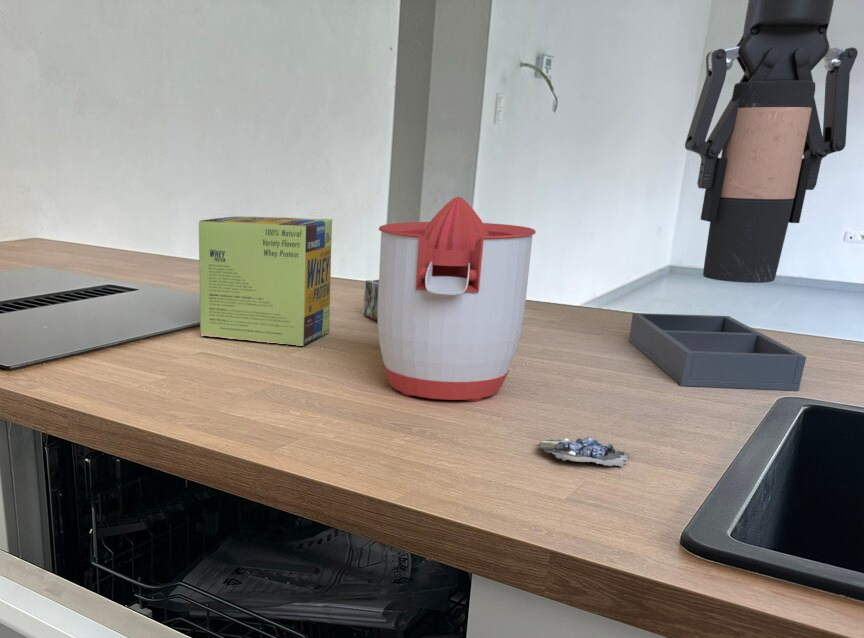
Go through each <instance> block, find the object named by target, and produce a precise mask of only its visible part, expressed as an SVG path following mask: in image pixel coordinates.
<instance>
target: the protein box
mask: <svg viewBox="0 0 864 638" xmlns="http://www.w3.org/2000/svg"><path fill="white" fill-rule="evenodd" d="M332 235H333V219H332V218H303V217H301V218H300V217H283V216H282V217H278V216H277V217H276V216H275V217H274V216H273V217H272V216H241V215H240V216H239V215H238V216H235V215H234V216H225V217H216V218H209V219H201V220H199V221H198V261H199V262H198V263H199V269H198V270H199V271H198V272H199V334H200V333H203V334H210V335H218V336H225V337H234V338H242V339H252V340H261V341H269V342H276V343H284V344H294V345H300V346H303V347H305V346H307V345H308V344H310V343H312V342H314V341H316V340H317V338H318V339H319V338H321V337H323V336H325V335H327V334H329V333H330V318H331V316H330V314H331V307H330V306H331V277H332V276H331V274H332V273H331V271H332V270H331V269H332V237H333V236H332ZM328 332H329V333H328ZM326 333H327V334H326ZM324 334H325V335H324ZM315 339H316V340H315ZM313 340H314V341H313ZM311 341H312V342H311ZM309 342H310V343H309ZM307 343H308V344H307ZM306 344H307V345H306ZM304 345H305V346H304Z"/></svg>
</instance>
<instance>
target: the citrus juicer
mask: <svg viewBox="0 0 864 638" xmlns="http://www.w3.org/2000/svg"><path fill="white" fill-rule="evenodd" d="M378 231H379V232H380V248H379V249H380V252H379V270H378V271H379V272H378V280H379V290H378V321H377V333H378V334H377V335H378V340H379V348H380V353H381V356H382V360H383V368H384V371H385V374H386V377H387V379H388V383H389V385H390V386H391V387H392V388H393V389H395V390H397V391H399V392H401V394H402V395H403V394H404V396H406V397H411V396H417V397H418V398H419V397H421V398H424V399H425V398H426V399H433V400H446V401H448V400H449V401H463V400H464V401H467V402H478V401H481V400H483V398H487V397H490V396H493V395H496V394H497V393H498V392H499V391H500V389H501V387H502V386H503V384H504V383H505V380H506V378H507V376H508V374H509V372H510V367H511V364H512V362H513V359H514V357H515V354H516V352H517V349H518V345H519V341H520V338H521V335H522V331H523V324H524V319H525V310H526V303H527V302H526V301H527V292H528V291H527V290H528V283H529V272H530V265H531V263H530V261H531V255H532V245H533V244H532V243H533V236H534V235H535V234H536V233H537V232H536V230H535V229H534V228H531V227H527V226H521V225H515V224H503V223H491V222H490V223H489V222H483V221H482V219H481V218H480V216H479V215H478V214H477V212H476V211H475V210H474V209H473V208H472V206H471V205H470V204H469V203H468V201H466V200H465V199H464V198H463V197H461V196H456V197H455V196H454V198H452V199H451V200H450V201H448V202H447V203H445V205H444V206H443V207H442V208H441V209H440V210H439V211H438V212H437V213H436V214H435V215H434V216H433V217H432V219H431V220H430V221H413V222H411V221H408V222H395V223H387V224H382V225H380V226H379V228H378Z"/></svg>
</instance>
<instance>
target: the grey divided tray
mask: <svg viewBox="0 0 864 638" xmlns="http://www.w3.org/2000/svg"><path fill="white" fill-rule="evenodd" d="M628 342H629V343H630V344H632V345H633V346H634V347H635V348H636V349H637V350H639V351H640V352H641V353H642V354H643V355H645V356H646V357H647V358H648V359H649V360H650V361H652V362H653V363H654V364H655V365H656V366H658V368H660V370H662V371H663V372H664V373H665V374H666V375H668V377H670V378H671V379H672V380H674V382H676V383H677V384H678V385H679V386H680V387H694V388H695V387H696V388H697V387H698V388H719V389H741V390H742V389H743V390H744V389H746V390H766V391H767V390H768V391H792V392H799V391H800V389H801V383H802V378H803V374H804V369H805V365H806V361H807V356H806V355H804V354H802V353H800V352H798V351H796V350H795V349H793V348H790V347H789V346H787V345H785V344H783V343H781V342H780V341H777V340H775V339H773V338H771V337H770V336H768V335H766V334H764V333H762V332H760V331H759V330H756V329H754V328H752V327H750V326H749V325H747V324H745V323H743V322H741V321H739V320H737V319H735V318H734V317H731V316H730V315H713V314H712V315H710V314H708V315H707V314H677V313H675V314H674V313H646V312H645V313H641V312H633V313H632V315H631V322H630V329H629V336H628Z"/></svg>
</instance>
